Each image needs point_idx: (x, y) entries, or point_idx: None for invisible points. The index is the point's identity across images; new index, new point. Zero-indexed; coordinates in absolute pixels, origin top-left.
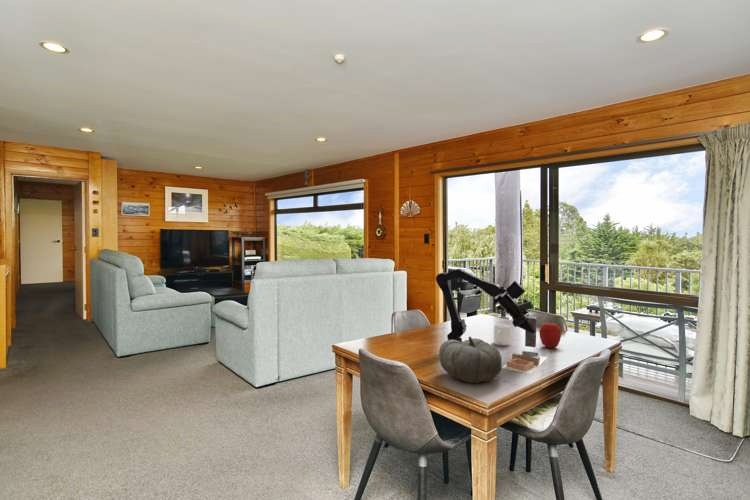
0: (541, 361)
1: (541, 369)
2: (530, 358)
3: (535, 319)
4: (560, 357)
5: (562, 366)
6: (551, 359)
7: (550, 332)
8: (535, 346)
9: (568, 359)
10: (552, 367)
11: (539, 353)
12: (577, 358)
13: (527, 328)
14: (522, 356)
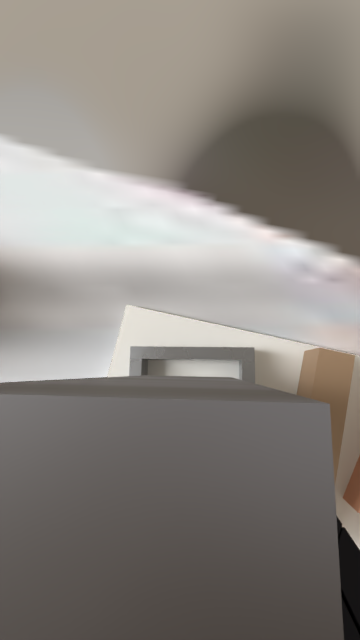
0: (233, 337)
1: (351, 336)
2: (343, 407)
3: (322, 432)
4: (56, 242)
5: (229, 230)
6: (116, 286)
7: None
8: (231, 377)
9: (79, 204)
10: (276, 279)
11: (150, 349)
12: (43, 164)
13: None
14: (334, 469)
